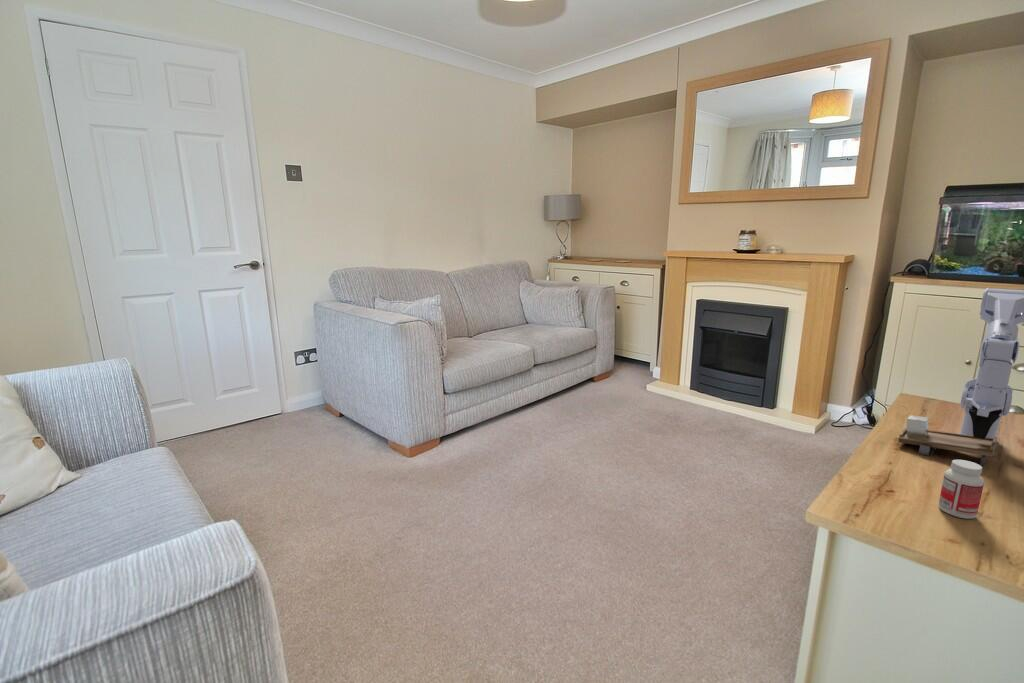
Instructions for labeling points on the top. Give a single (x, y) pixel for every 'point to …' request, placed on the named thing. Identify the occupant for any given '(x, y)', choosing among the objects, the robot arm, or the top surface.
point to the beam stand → (930, 450)
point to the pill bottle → (962, 489)
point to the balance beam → (953, 442)
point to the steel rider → (917, 426)
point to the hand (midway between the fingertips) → (979, 435)
